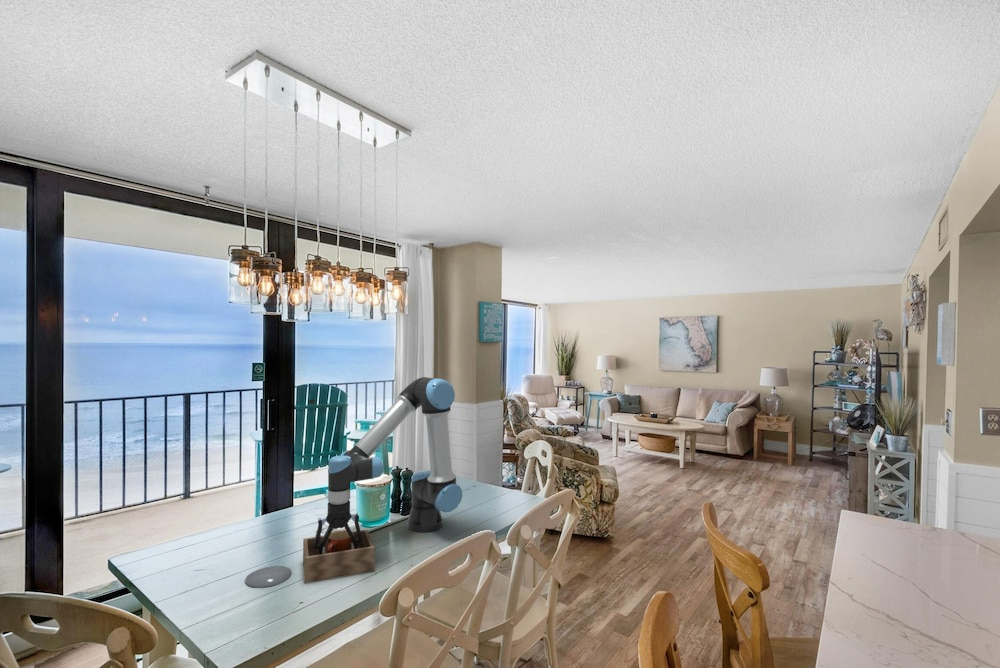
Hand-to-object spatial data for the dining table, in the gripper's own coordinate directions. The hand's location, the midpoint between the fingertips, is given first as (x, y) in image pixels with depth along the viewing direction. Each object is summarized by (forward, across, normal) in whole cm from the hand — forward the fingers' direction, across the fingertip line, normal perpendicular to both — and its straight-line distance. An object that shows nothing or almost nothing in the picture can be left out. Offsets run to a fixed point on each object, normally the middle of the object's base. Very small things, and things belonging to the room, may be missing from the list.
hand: (337, 565), depth 169 cm
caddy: (0, 0, 0) cm, 0 cm away
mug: (0, 0, 0) cm, 0 cm away
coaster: (0, +22, 0) cm, 22 cm away
